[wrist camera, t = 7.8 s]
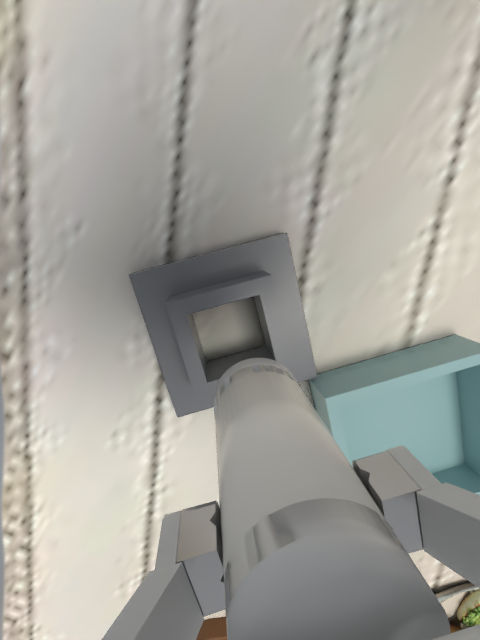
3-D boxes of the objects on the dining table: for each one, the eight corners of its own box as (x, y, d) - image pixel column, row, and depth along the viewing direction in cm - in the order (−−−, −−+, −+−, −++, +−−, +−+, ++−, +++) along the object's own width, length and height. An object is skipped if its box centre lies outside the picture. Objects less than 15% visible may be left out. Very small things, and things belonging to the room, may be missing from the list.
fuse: (288, 347, 15) (440, 544, 5) (306, 423, 16) (459, 701, 6) (203, 371, 15) (201, 617, 5) (226, 446, 16) (260, 766, 6)
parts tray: (455, 334, 32) (494, 349, 28) (467, 462, 36) (503, 492, 32) (308, 377, 32) (325, 398, 27) (335, 502, 35) (354, 539, 31)
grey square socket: (282, 233, 28) (297, 231, 24) (312, 370, 31) (329, 391, 27) (132, 272, 28) (119, 279, 23) (178, 409, 31) (174, 436, 26)
